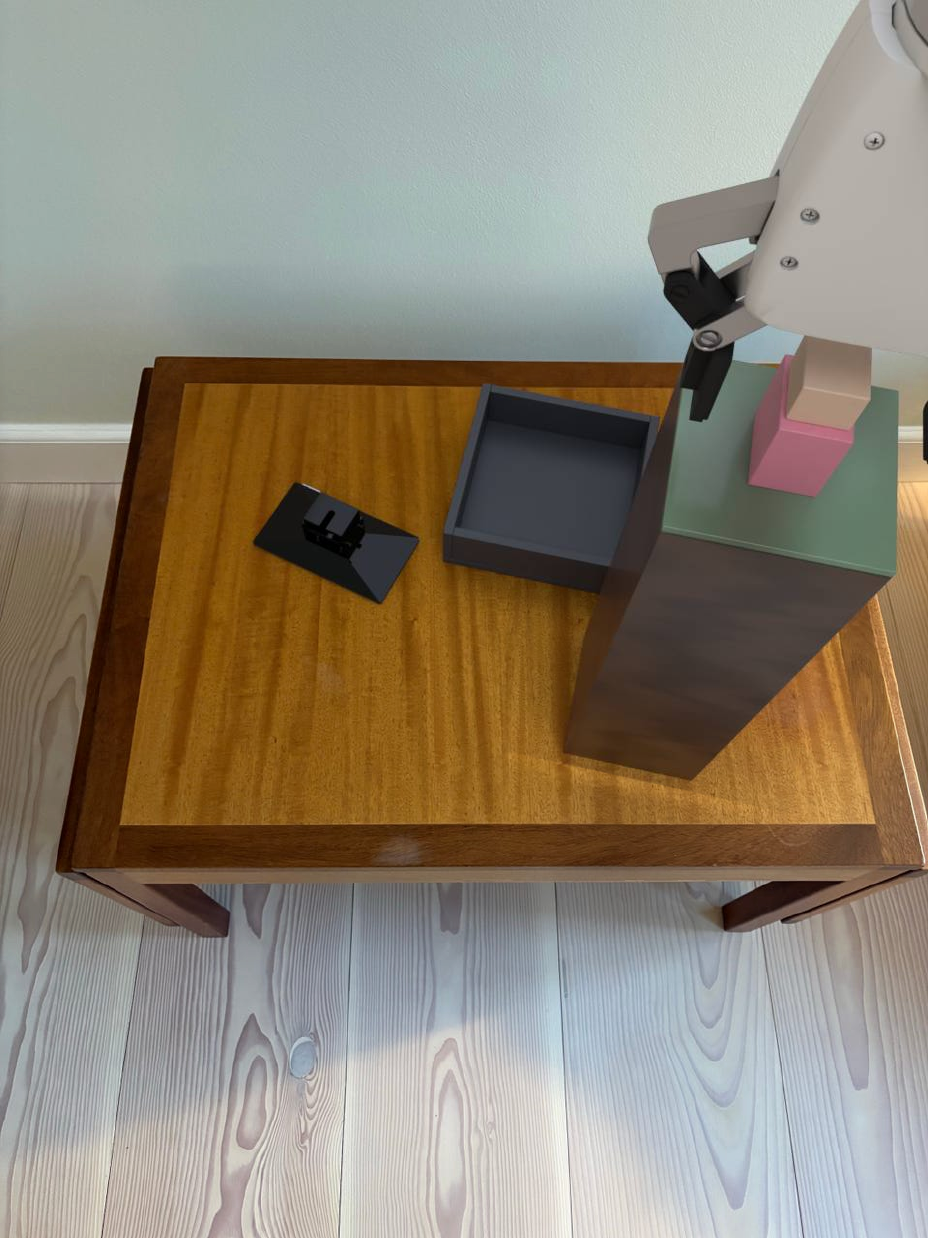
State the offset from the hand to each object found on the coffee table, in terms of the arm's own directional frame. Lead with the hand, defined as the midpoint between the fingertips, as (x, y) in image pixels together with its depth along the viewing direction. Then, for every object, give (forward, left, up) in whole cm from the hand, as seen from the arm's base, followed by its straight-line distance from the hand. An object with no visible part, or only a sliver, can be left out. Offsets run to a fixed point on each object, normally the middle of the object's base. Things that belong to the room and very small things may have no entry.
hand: (814, 416), depth 38 cm
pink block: (0, 0, -3) cm, 3 cm away
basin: (+10, -17, -36) cm, 41 cm away
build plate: (+27, -9, -37) cm, 46 cm away
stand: (0, 0, -36) cm, 36 cm away
